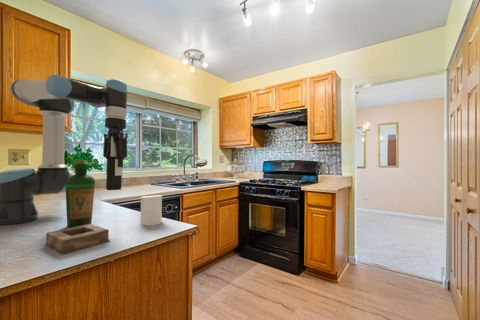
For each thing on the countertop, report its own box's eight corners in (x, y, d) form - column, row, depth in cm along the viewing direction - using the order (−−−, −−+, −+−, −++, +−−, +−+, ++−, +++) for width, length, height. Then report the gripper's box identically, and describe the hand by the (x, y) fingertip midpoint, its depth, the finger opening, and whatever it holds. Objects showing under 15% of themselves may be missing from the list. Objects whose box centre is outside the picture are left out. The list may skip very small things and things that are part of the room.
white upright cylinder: (156, 219, 108) (157, 194, 108) (164, 222, 102) (165, 196, 102) (137, 222, 102) (137, 196, 102) (145, 226, 95) (145, 198, 95)
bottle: (78, 229, 89) (80, 160, 90) (57, 227, 91) (58, 159, 92) (100, 222, 100) (101, 160, 100) (80, 220, 102) (82, 159, 102)
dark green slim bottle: (105, 188, 92) (107, 128, 92) (119, 188, 95) (121, 129, 95) (107, 190, 88) (109, 127, 88) (121, 189, 91) (123, 128, 91)
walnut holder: (44, 245, 73) (45, 232, 73) (90, 234, 84) (90, 223, 84) (62, 254, 66) (62, 241, 66) (109, 241, 77) (109, 229, 77)
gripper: (94, 118, 93) (92, 174, 93) (119, 114, 83) (118, 176, 83) (112, 121, 100) (110, 173, 99) (138, 118, 90) (136, 175, 90)
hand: (114, 174), depth 91 cm, fingers closed on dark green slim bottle, 6 cm apart
